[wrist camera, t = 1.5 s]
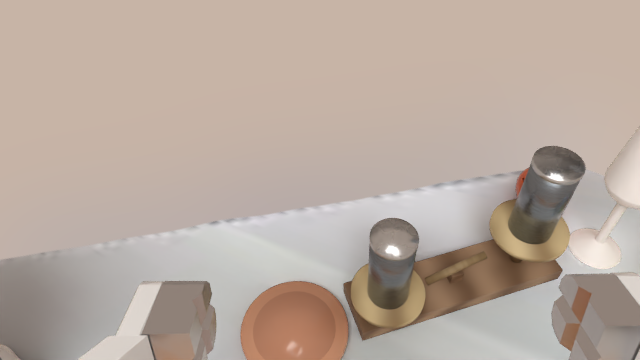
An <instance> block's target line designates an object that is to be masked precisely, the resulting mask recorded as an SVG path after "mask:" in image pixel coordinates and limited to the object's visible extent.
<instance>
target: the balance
mask: <svg viewBox="0 0 640 360" xmlns="http://www.w3.org/2000/svg"><path fill="white" fill-rule="evenodd" d="M516 200H517V199H513V200H509V201H506V202H504V203H502V204H500V205H499V206H498V207H497V208H496V209H495V210H494V212H493V214H492V216H491V219H490V225H489V226H490V232H491V235H492V237H493V240H489V241H486V242H483V243H479V244H476V245H472V246H469V247H466V248H462V249H459V250H455V251H452V252H449V253H445V254H442V255H439V256H435V257H432V258H428V259H425V260H422V261H418V262H415V263H414V267H413V273H412V278H411V284H410V289H409V295H408V299H407V301H406V302H405V303H404V304H403V305H402V306H401V307H399V308H396V309H391V310H388V309H382V308H380V307H378V306H376V305H375V304H374V303H373V302H372V301H371V300H370V298H369V296H368V293H367V285H368V267H369V263H368V264H366V265H365V266H363V267H362V268H361V269H360V270H359V271H358V272H357V273H356V275H355V276H354V278H353V281H350V282H347V283H344V294H345V296H346V299H347V301H348V304H349V307H350V309H351V312H352V314H353V317H354V320H355V322H356V325H357V327H358V330H359V333H360V335H361V338H362V340H366V339H369V338H372V337H375V336H379V335H382V334H385V333H388V332H391V331H394V330H397V329H401V328H404V327H407V326H410V325H413V324H416V323H419V322H423V321H426V320H429V319H432V318H435V317H438V316H441V315H445V314H448V313H451V312H454V311H457V310H460V309H463V308H467V307H470V306H473V305H476V304H479V303H482V302H485V301H489V300H492V299H495V298H498V297H501V296H504V295H507V294H510V293H514V292H517V291H520V290H523V289H526V288H529V287H532V286H536V285H539V284H542V283H545V282H548V281H551V280H554V279H558V277H559V276H560V274H561V272H562V271H563V270H562V268H561V267H560V266H559V265H558V263H557V262H556V261H555V259H556V258H558V257H559V256H561V255H562V254H563V252H564V251H565V249H566V248H567V246H568V244H569V240H570V233H569V229H568V226H567V224H566V222H565V221H564V219H563V218H562V217H561V218H560V220H559V222H558V224H557V226H556V228H555V230H554V232H553V233H552V235H551V237H550V239H549V240H548V241H547V242H545V243H542V244H528V243H525V242H522V241H520V240H519V239H517V238H516V237H515V236H514V235H513V234H512V233H511V232H510V230H509V227H508V220H509V218H510V215H511V213H512V210H513V208H514V205H515V203H516Z"/></svg>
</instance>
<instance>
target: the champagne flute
mask: <svg viewBox="0 0 640 360" xmlns="http://www.w3.org/2000/svg"><path fill="white" fill-rule="evenodd" d="M604 180H605V185H606V188H607V190H608V193H609V194H610V196H611V197H612V198H613V199H614V200H615V201H616V202H617V204H616V206H615V207H614V209H613V210H612V212H611V214H610V215H609V217H608V218H607V220H606V221H605V223H604V225H603V226H602V228H601V229H600V231H598V230H595V229H588V228H584V229H579V230H576V231H574V232H573V233H572V234H571V235H570V240H569V244H568V245H569V248H570V250H571V252H572V254H573V255H574V256H575V257H576V258H577V259H578V260H579V261H581V262H582V263H584V264H586V265H588V266H590V267H593V268H598V269H609V268H612V267H615V266H616V265H617V264H618V263H619V262H620V260H621V250H620V248H619V246H618V244H617V243H616V242H615V241H614V240H613V239H612V238H611V237H610V236H609V234H610V233H611V231H612V230H613V228H614V227H615V225H616V224H617V222H618V221H619V219H620V218H621V216H622V215H623V213H624V212H625V210H626V209H627V208H633V209H640V126H639V128H638V129H637V130H636V132H635V133H634V134H633V136H632V137H631V138H630V140H629V141H628V142H627V144H626V145H625V146H624V148H623V149H622V150H621V152H620V153H619V154H618V156H617V157H616V158H615V160H614V161H613V162H612V164H611V165H610V166H609V168H608V169H607V171H606V173H605V178H604Z"/></svg>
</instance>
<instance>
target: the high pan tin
mask: <svg viewBox="0 0 640 360" xmlns="http://www.w3.org/2000/svg"><path fill="white" fill-rule="evenodd" d="M585 170H586V167H585V163H584V161H583V160H582V159H581V157H579V156H578V155H577V154H576V153H574V152H573V151H571V150H568V149H566V148H562V147H558V146H547V147H543V148H540V149H539V150H537V151H536V152H535V154H534V156H533V158H532V161H531V165H530V167H529V170H528V172H527V175H526V177H525V180H524V182H523V185H522V187H521V190H520V192H519V195H518V197H517V200H516V203H515V205H514V208H513V210H512V213H511V215H510V218H509V220H508V227H509V230H510V232H511V233H512V234H513V235H514V236H515V237H516V238H517V239H519V240H520V241H522V242H525V243H528V244H542V243H545V242H547V241H548V240H549V239H550V237H551V235H552V233H553V232H554V230H555V228H556V226H557V224H558V222H559V220H560V218H561V216H562V214H563V212H564V210H565V208H566V207H567V205H568V203H569V201H570V199H571V197H572V195H573V193H574V191H575V189H576V187H577V185H578V183H579V181H580V180H581V179H582V177H583V175H584V173H585Z"/></svg>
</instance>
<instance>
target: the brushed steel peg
mask: <svg viewBox="0 0 640 360" xmlns="http://www.w3.org/2000/svg"><path fill="white" fill-rule="evenodd" d="M418 243H419V236H418V233H417V231H416V229H415V228H414V227H413V226H412V225H411V224H410V223H408V222H407V221H404V220H402V219H398V218H388V219H384V220H381V221H379V222H378V223H376V224H375V225H374V226H373V228H372V229H371V232H370V249H369V267H368V285H367V293H368V296H369V298H370V300H371V301H372V302H373V303H374V304H375V305H376V306H378V307H380V308H382V309H388V310H391V309H396V308H399V307H401V306H402V305H403V304H404V303H405V302H406V301H407V299H408V295H409V289H410V284H411V278H412V273H413V267H414V262H415V256H416V251H417V247H418Z"/></svg>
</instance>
